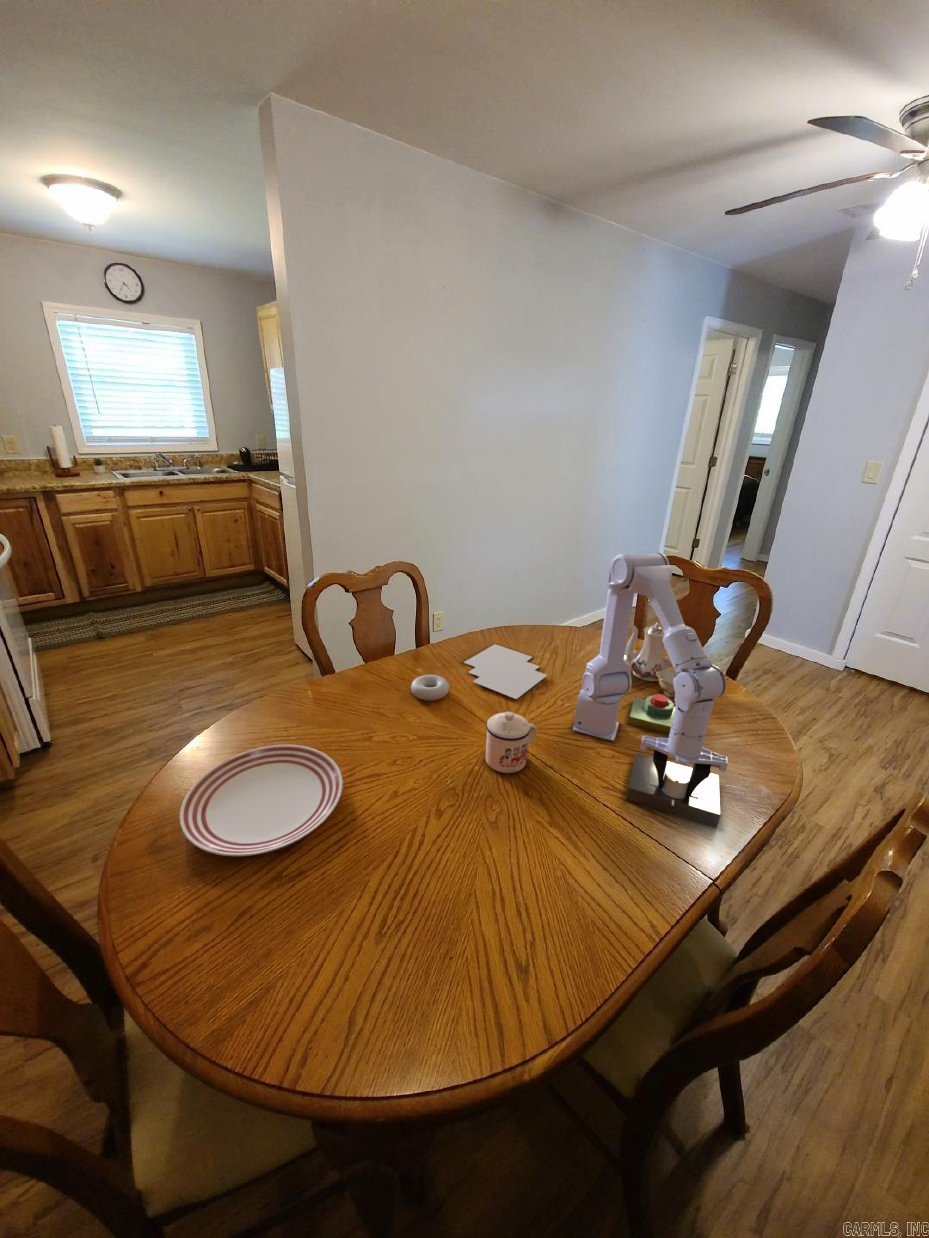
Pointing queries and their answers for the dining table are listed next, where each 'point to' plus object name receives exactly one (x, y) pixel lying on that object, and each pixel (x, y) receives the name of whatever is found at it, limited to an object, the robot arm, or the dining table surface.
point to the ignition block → (652, 715)
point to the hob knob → (675, 783)
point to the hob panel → (695, 808)
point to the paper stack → (505, 671)
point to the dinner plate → (261, 800)
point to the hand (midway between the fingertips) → (674, 788)
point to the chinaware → (651, 659)
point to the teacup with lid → (508, 741)
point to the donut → (430, 687)
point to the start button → (660, 700)
